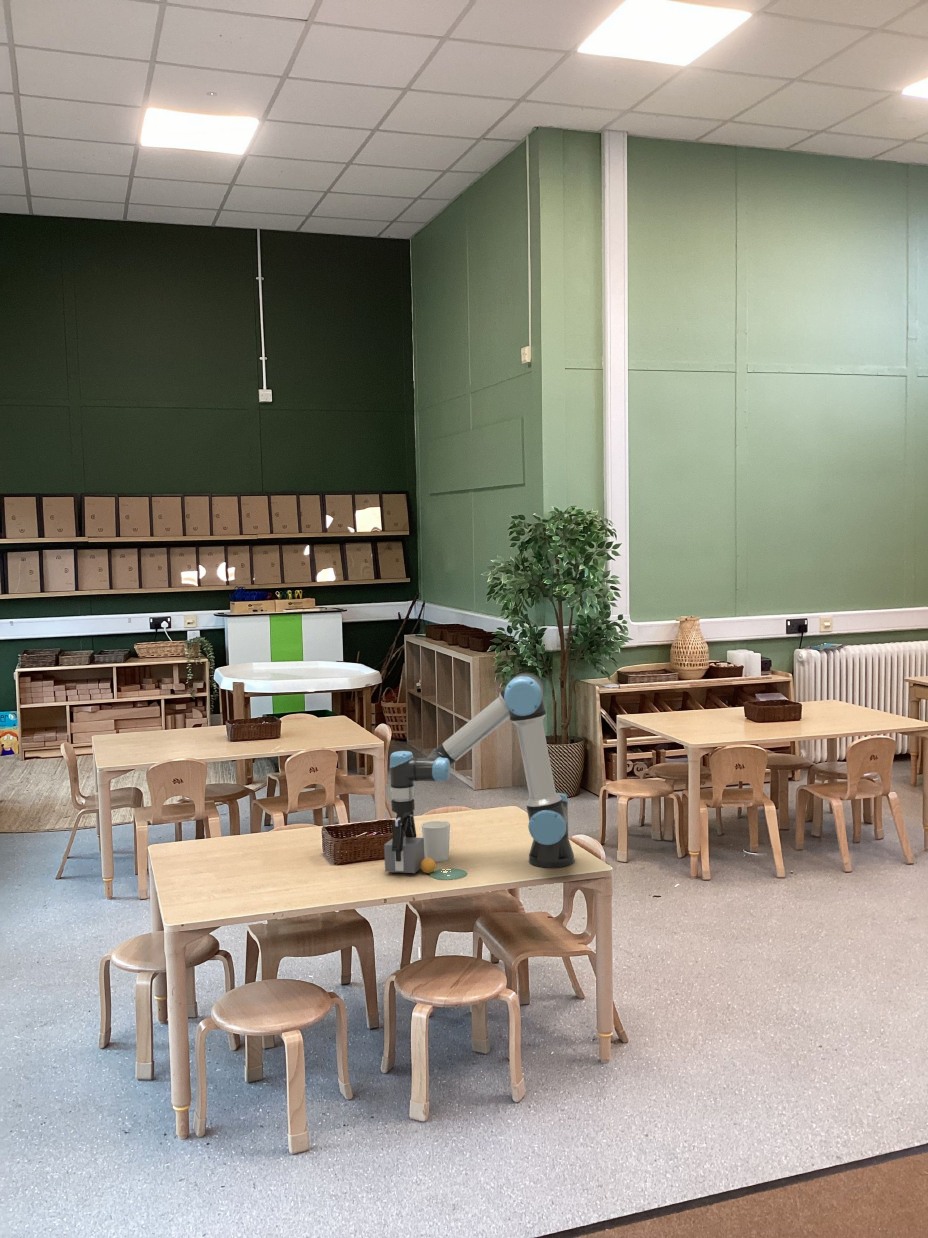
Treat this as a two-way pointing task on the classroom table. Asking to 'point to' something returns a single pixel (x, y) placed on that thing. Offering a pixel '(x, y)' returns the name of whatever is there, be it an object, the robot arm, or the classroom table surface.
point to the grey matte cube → (406, 855)
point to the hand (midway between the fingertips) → (405, 865)
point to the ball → (428, 865)
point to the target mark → (453, 874)
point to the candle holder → (436, 840)
